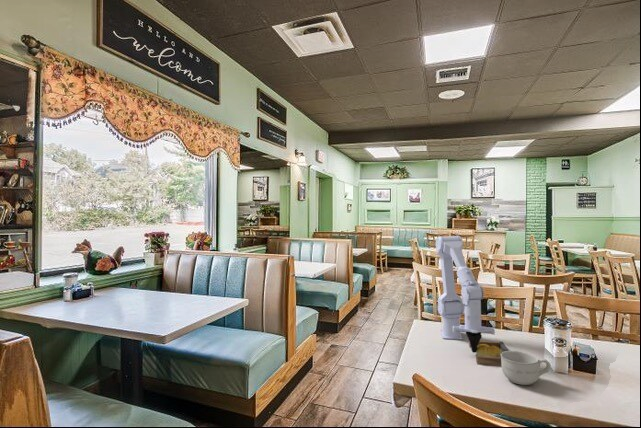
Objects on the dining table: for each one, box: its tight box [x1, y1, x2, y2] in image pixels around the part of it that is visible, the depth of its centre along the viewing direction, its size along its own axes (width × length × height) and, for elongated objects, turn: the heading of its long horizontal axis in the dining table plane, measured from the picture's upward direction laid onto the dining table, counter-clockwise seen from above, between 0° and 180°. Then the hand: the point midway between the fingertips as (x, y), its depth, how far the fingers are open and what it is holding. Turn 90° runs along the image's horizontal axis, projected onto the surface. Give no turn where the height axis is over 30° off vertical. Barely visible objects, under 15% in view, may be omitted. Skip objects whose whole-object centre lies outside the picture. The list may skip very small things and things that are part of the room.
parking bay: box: [468, 340, 510, 367], centre depth 127 cm, size 16×12×2 cm
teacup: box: [501, 350, 551, 386], centre depth 108 cm, size 14×11×8 cm
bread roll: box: [476, 344, 502, 357], centre depth 127 cm, size 8×9×4 cm
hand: (473, 351), depth 129 cm, fingers closed
